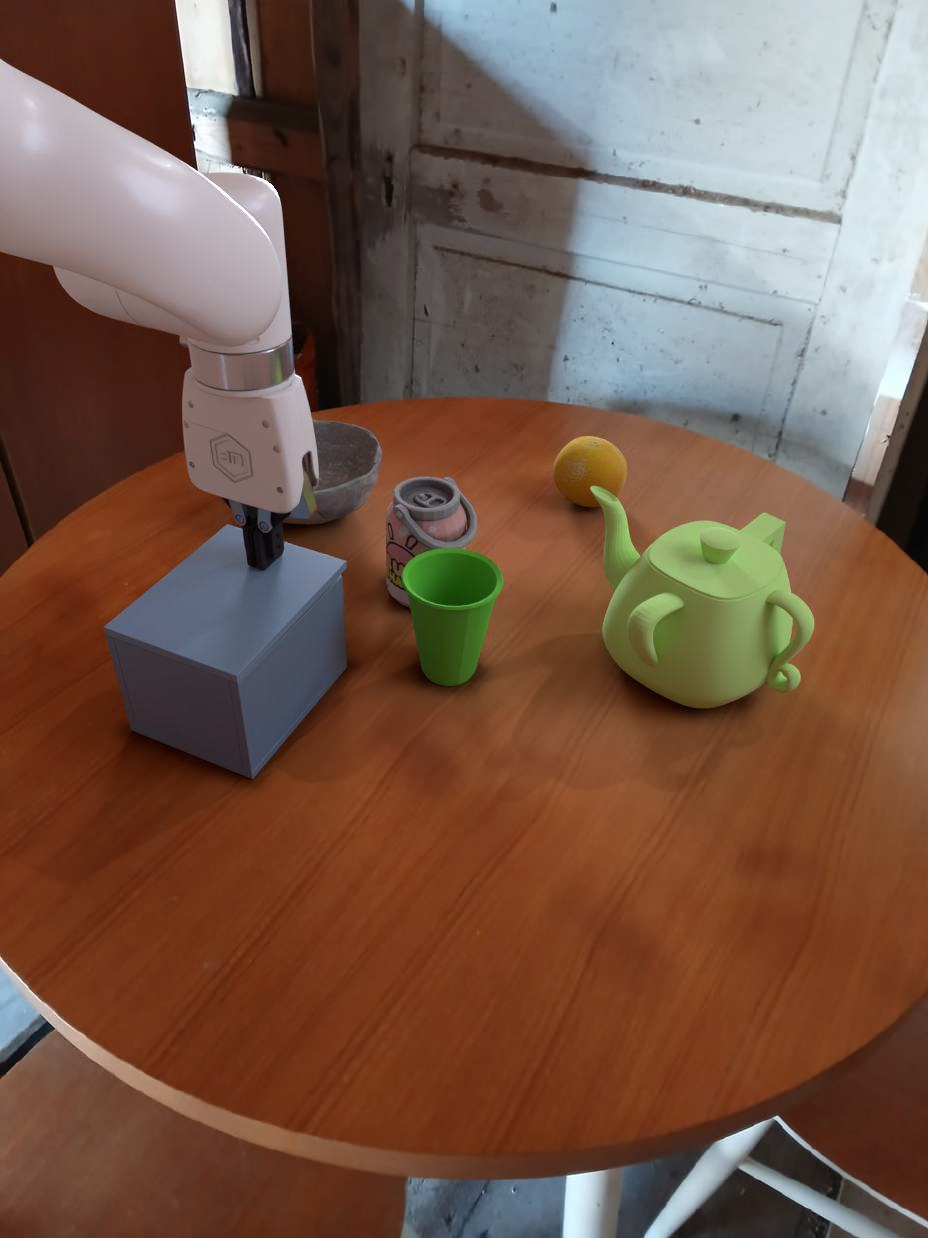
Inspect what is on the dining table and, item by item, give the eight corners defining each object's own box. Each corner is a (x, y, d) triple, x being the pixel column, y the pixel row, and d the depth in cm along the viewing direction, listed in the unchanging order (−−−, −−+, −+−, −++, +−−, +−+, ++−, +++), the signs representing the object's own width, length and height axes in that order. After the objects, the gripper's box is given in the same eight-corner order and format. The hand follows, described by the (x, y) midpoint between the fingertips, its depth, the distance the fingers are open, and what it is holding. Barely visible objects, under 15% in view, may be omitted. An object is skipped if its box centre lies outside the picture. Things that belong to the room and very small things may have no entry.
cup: (474, 630, 91) (480, 540, 84) (510, 689, 85) (520, 596, 78) (389, 649, 88) (388, 556, 82) (419, 711, 82) (421, 616, 75)
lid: (228, 531, 83) (226, 523, 83) (347, 568, 80) (346, 560, 79) (105, 634, 72) (102, 627, 71) (237, 683, 68) (236, 676, 68)
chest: (236, 628, 90) (223, 538, 83) (347, 667, 86) (342, 575, 79) (130, 730, 79) (105, 635, 72) (252, 779, 75) (237, 684, 68)
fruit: (624, 489, 114) (635, 432, 109) (617, 523, 108) (627, 464, 103) (556, 478, 116) (563, 421, 111) (544, 510, 110) (551, 451, 105)
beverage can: (487, 592, 96) (494, 495, 89) (435, 629, 91) (438, 529, 84) (422, 558, 101) (423, 463, 93) (369, 592, 95) (366, 493, 88)
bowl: (198, 525, 104) (188, 463, 99) (285, 459, 117) (279, 402, 112) (333, 568, 98) (329, 505, 93) (408, 494, 111) (408, 435, 106)
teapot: (807, 727, 82) (857, 603, 73) (589, 718, 82) (612, 591, 73) (758, 602, 97) (795, 485, 88) (573, 593, 97) (591, 475, 88)
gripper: (128, 355, 67) (168, 558, 78) (301, 399, 62) (317, 607, 74) (192, 323, 72) (220, 517, 84) (355, 361, 68) (362, 560, 79)
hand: (265, 559), depth 79 cm, fingers closed
